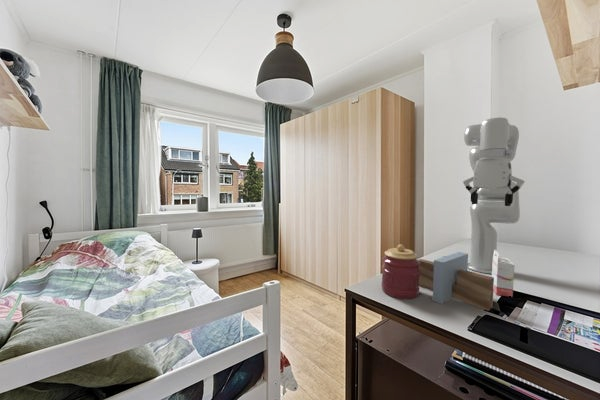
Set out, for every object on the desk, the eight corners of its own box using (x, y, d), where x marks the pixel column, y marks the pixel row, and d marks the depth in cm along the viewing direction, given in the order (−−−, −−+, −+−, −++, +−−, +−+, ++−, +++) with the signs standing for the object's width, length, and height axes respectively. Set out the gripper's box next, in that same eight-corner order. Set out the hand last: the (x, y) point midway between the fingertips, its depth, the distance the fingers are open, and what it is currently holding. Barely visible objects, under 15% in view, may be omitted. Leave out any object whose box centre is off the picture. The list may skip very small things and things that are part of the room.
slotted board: (420, 283, 99) (421, 258, 98) (492, 308, 79) (493, 277, 78) (416, 285, 97) (416, 260, 96) (488, 310, 77) (490, 279, 76)
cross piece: (457, 288, 94) (459, 251, 93) (466, 290, 92) (468, 253, 91) (432, 300, 84) (434, 260, 83) (441, 304, 82) (443, 262, 81)
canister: (395, 282, 100) (396, 239, 99) (426, 293, 89) (428, 245, 88) (374, 289, 93) (374, 243, 92) (405, 303, 82) (406, 251, 81)
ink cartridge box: (513, 297, 86) (516, 256, 85) (495, 294, 88) (497, 254, 87) (507, 288, 94) (509, 250, 93) (490, 286, 96) (492, 248, 95)
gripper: (529, 153, 80) (526, 206, 81) (469, 158, 94) (467, 203, 95) (521, 152, 76) (518, 207, 77) (460, 157, 90) (458, 203, 91)
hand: (490, 204), depth 86 cm, fingers open, 9 cm apart
